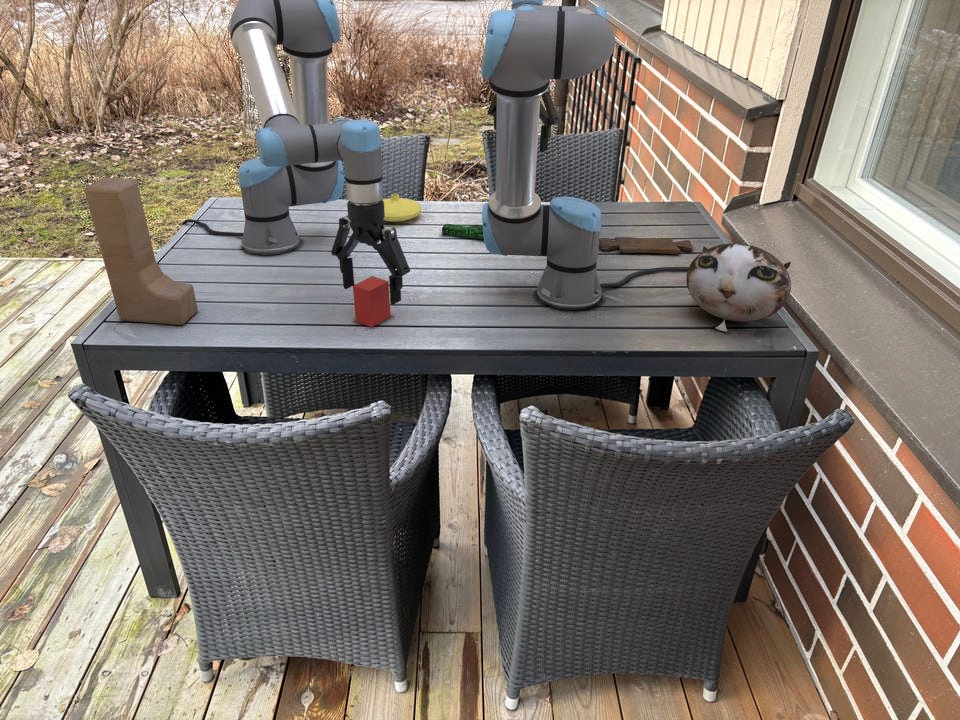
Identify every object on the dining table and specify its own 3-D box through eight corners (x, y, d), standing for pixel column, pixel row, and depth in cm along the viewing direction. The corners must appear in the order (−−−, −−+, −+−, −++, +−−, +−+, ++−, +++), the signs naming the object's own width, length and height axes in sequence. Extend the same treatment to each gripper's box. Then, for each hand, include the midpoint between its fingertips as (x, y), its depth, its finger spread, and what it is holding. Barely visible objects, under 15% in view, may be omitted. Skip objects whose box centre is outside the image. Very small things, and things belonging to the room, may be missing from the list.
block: (390, 316, 161) (388, 281, 157) (372, 327, 157) (369, 291, 152) (374, 311, 164) (372, 275, 159) (355, 321, 159) (352, 285, 155)
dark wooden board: (696, 256, 194) (688, 243, 203) (697, 250, 194) (689, 237, 202) (601, 253, 195) (597, 240, 203) (602, 247, 194) (598, 234, 202)
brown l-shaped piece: (183, 326, 156) (152, 191, 140) (118, 321, 157) (81, 187, 142) (199, 311, 162) (172, 180, 147) (137, 306, 164) (103, 176, 148)
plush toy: (664, 307, 155) (693, 222, 157) (679, 329, 171) (705, 252, 172) (770, 332, 145) (800, 241, 146) (775, 353, 160) (802, 271, 162)
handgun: (511, 219, 210) (493, 234, 198) (511, 228, 211) (492, 244, 199) (461, 212, 215) (440, 226, 203) (461, 221, 217) (440, 236, 204)
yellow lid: (393, 205, 227) (392, 183, 223) (432, 216, 219) (432, 193, 215) (359, 219, 216) (357, 196, 212) (398, 230, 208) (397, 207, 204)
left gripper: (424, 207, 143) (427, 302, 154) (333, 184, 155) (341, 275, 166) (401, 217, 138) (405, 315, 149) (308, 193, 149) (318, 286, 160)
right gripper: (576, 64, 176) (569, 151, 187) (491, 55, 188) (489, 137, 199) (561, 68, 171) (555, 157, 182) (475, 58, 183) (474, 142, 193)
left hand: (372, 294), depth 157 cm, fingers open, 13 cm apart
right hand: (521, 147), depth 190 cm, fingers open, 13 cm apart
